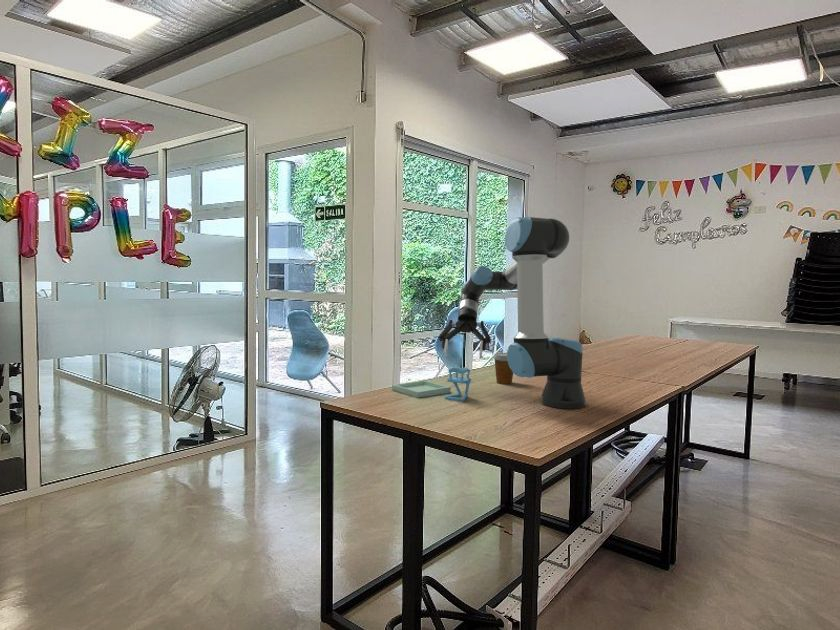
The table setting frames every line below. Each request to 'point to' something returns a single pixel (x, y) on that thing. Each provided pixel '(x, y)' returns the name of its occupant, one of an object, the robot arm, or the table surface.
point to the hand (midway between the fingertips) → (462, 355)
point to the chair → (459, 380)
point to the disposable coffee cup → (502, 369)
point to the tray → (421, 388)
